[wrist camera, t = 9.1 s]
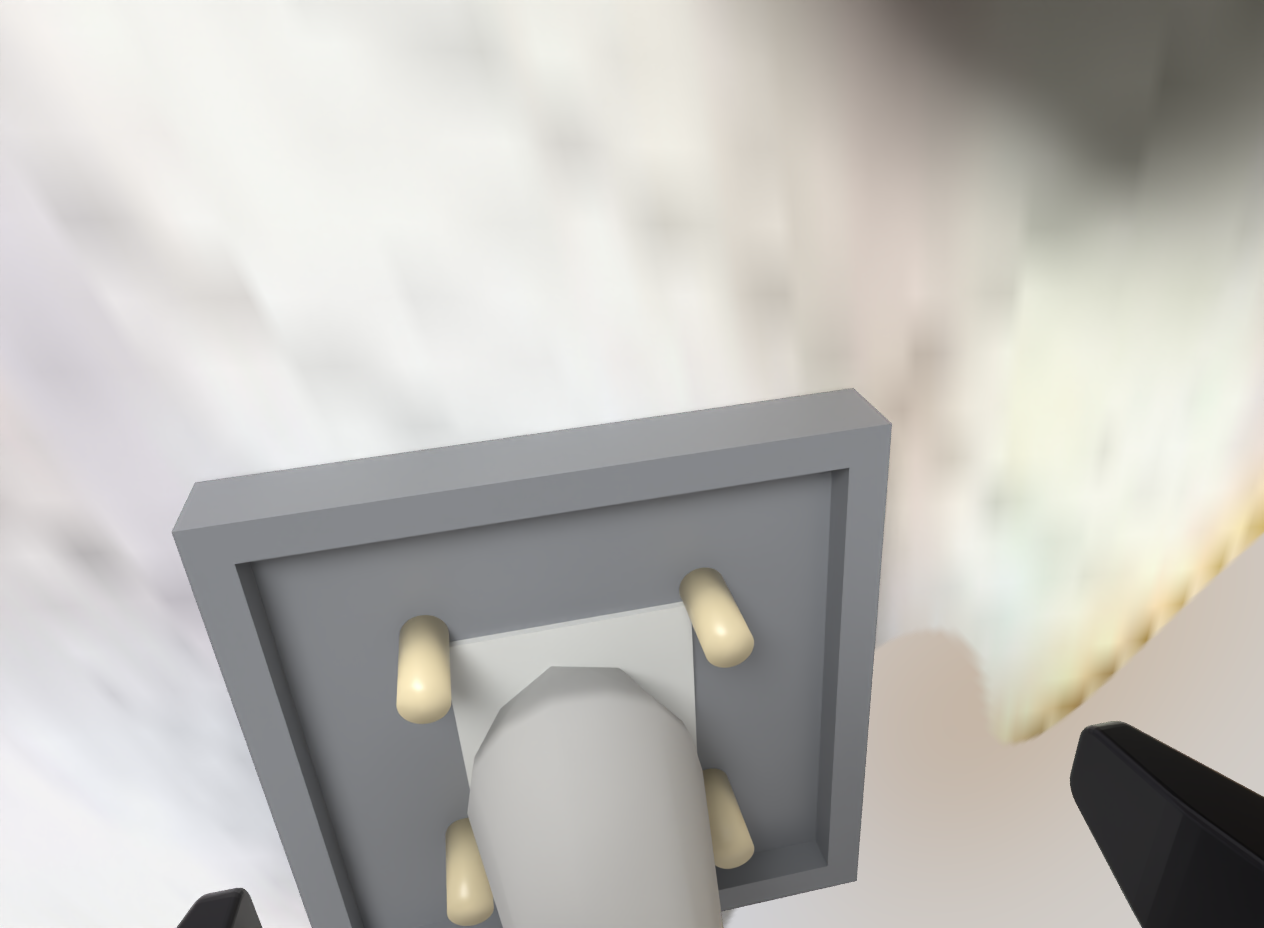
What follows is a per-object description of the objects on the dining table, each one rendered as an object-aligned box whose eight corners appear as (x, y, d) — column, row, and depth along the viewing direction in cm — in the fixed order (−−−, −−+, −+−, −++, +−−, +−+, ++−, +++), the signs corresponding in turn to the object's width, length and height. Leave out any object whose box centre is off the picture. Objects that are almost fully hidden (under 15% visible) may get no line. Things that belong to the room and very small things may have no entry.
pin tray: (829, 825, 31) (877, 922, 27) (342, 930, 28) (332, 1050, 25) (853, 388, 23) (922, 451, 20) (195, 482, 21) (152, 571, 18)
